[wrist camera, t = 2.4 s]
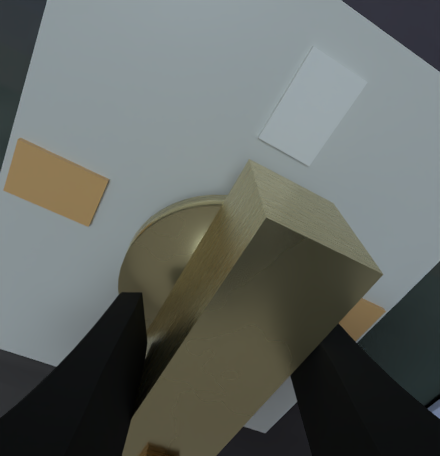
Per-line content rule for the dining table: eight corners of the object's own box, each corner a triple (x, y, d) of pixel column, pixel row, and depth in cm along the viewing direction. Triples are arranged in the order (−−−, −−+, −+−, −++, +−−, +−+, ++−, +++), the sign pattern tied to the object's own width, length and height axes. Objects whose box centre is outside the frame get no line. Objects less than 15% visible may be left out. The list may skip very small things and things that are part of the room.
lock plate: (522, 142, 13) (581, 163, 11) (262, 412, 21) (268, 456, 19) (109, -154, 9) (78, -209, 7) (-28, 315, 17) (-62, 356, 15)
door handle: (370, 214, 11) (453, 312, 7) (232, 381, 15) (240, 504, 11) (190, 119, 10) (175, 178, 6) (87, 331, 14) (36, 454, 10)
